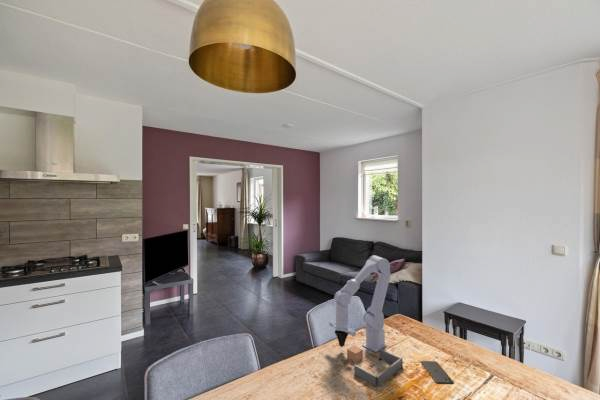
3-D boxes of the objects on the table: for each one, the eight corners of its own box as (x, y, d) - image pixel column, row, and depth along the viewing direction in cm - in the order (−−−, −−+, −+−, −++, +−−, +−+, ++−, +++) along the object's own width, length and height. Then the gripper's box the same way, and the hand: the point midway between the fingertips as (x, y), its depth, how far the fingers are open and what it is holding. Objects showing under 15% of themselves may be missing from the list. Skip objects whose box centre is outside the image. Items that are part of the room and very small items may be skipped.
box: (380, 356, 124) (380, 348, 124) (402, 366, 116) (402, 358, 116) (354, 373, 111) (354, 365, 111) (377, 387, 103) (377, 377, 103)
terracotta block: (353, 353, 127) (353, 345, 127) (362, 358, 123) (362, 349, 123) (347, 357, 123) (347, 349, 123) (355, 362, 119) (355, 353, 120)
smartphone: (436, 360, 120) (455, 382, 105) (436, 362, 120) (455, 384, 105) (419, 360, 120) (436, 382, 105) (419, 362, 120) (436, 384, 105)
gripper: (325, 314, 132) (325, 342, 131) (348, 324, 121) (348, 355, 121) (334, 310, 136) (334, 338, 136) (358, 320, 126) (358, 349, 125)
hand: (341, 345), depth 129 cm, fingers closed
